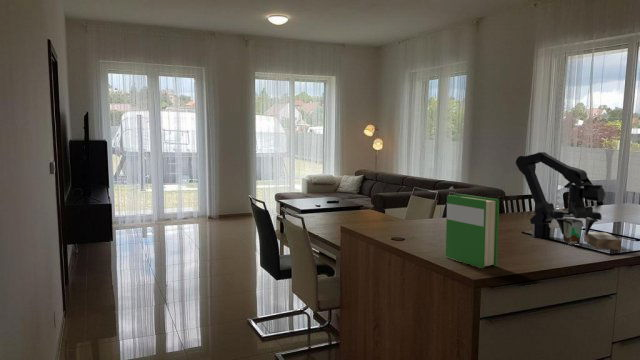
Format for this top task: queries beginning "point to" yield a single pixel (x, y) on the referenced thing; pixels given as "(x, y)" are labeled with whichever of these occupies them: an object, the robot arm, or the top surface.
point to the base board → (602, 240)
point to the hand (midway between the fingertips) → (574, 234)
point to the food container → (572, 231)
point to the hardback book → (472, 229)
